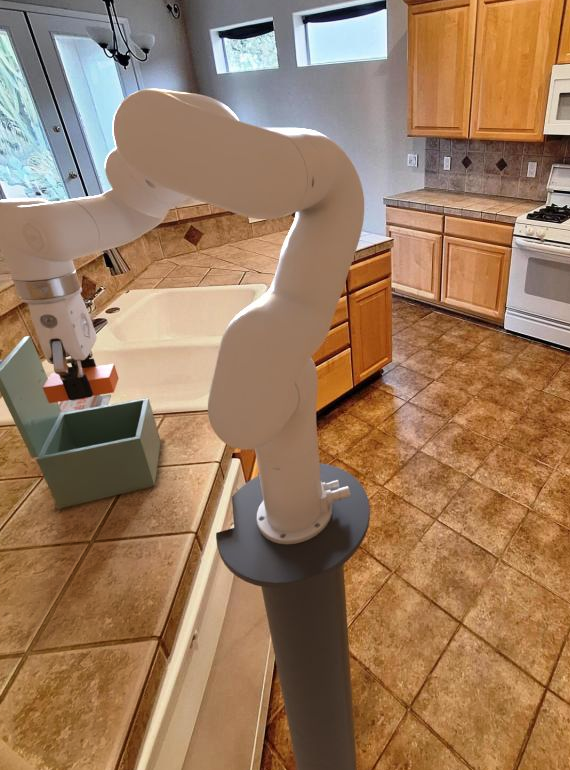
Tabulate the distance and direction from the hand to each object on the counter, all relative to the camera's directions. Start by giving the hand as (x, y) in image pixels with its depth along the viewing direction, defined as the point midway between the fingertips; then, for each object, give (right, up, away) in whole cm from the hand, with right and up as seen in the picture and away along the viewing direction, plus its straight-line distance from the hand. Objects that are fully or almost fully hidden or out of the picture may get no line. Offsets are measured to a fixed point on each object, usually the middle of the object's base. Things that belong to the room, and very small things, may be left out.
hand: (85, 388), depth 72 cm
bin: (-1, -17, +9) cm, 19 cm away
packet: (0, 0, 0) cm, 0 cm away
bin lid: (-7, -1, -2) cm, 8 cm away
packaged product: (-18, -10, +22) cm, 31 cm away
